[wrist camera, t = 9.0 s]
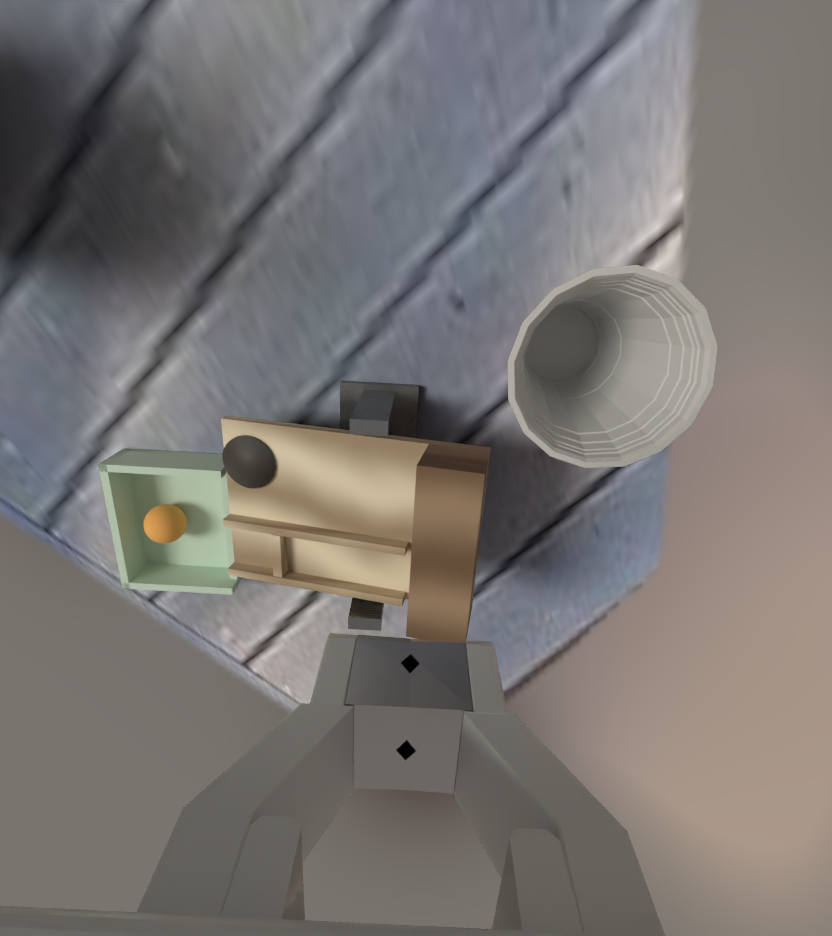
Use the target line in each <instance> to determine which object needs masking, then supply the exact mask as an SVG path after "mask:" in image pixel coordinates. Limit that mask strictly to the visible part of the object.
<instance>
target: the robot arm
mask: <svg viewBox="0 0 832 936" xmlns="http://www.w3.org/2000/svg"><path fill="white" fill-rule="evenodd" d="M353 789H400V790H403V789H404V790H414V791H427V792H439V793H453V794H454V797H455V799H456V800H457V802H458V804H459V806H460V808H461V809H462V811H463V813H464V814H465V816H466V818H467V820H468V821H469V823H470V825H471V826H472V828H473V830H474V832H475V833H476V835H477V837H478V838H479V840H480V842H481V844H482V845H483V847H484V849H485V850H486V852H487V854H488V856H489V857H490V859H491V860H492V862H493V864H494V866H495V868H496V869H497V871H498V873H499V874H500V876H501V878H502V880H501V885H500V891H499V895H498V900H497V905H496V911H495V916H494V921H493V927H492V929H478V928H456V927H435V926H413V925H393V924H372V923H350V922H330V921H309V920H305V910H304V886H303V861H304V860H305V858H306V857H307V856H308V854H309V853H310V851H311V850H312V849H313V847H314V846H315V844H316V843H317V842H318V840H319V839H320V837H321V836H322V835H323V833H324V832H325V830H326V829H327V828H328V826H329V825H330V823H331V822H332V821H333V819H334V817H335V816H336V815H337V813H338V812H339V811H340V809H341V808H342V806H343V805H344V804H345V802H346V801H347V799H348V798H349V797H350V795H351V794H352V792H353ZM0 936H665V934H664V931H663V929H662V926H661V923H660V920H659V918H658V915H657V912H656V909H655V907H654V904H653V901H652V898H651V895H650V893H649V890H648V887H647V884H646V882H645V879H644V876H643V873H642V871H641V868H640V865H639V862H638V860H637V857H636V854H635V851H634V848H633V846H632V843H631V840H630V838H629V835H628V832H627V830H626V829H625V828H624V827H623V826H622V825H621V824H620V823H619V822H618V821H617V820H616V819H615V818H614V817H613V816H612V815H611V814H610V813H609V812H608V811H607V809H606V808H605V807H604V806H603V805H602V804H601V803H600V802H599V801H598V800H597V799H596V798H595V797H594V796H593V795H592V794H591V793H590V792H589V791H588V790H587V788H586V787H585V786H583V784H582V783H581V782H580V781H579V780H578V779H577V778H576V777H575V776H574V775H573V774H572V773H571V772H570V771H569V770H568V769H567V767H566V766H565V765H563V763H562V762H561V761H560V760H559V759H558V758H557V757H556V756H555V755H554V754H553V753H552V752H551V751H550V750H549V749H548V748H547V747H546V745H544V743H543V742H542V741H541V740H540V739H539V738H538V737H537V736H536V735H535V734H534V733H533V732H532V731H531V730H530V729H529V728H528V727H527V726H526V724H525V723H524V722H523V721H522V720H521V719H520V718H519V717H518V716H517V715H516V714H507V709H506V704H505V699H504V694H503V689H502V683H501V678H500V673H499V668H498V663H497V658H496V652H495V647H494V645H493V643H492V642H489V641H464V642H463V641H447V640H425V639H407V638H394V637H381V636H368V635H358V636H357V635H348V634H335V633H330V635H329V636H328V638H327V640H326V644H325V648H324V652H323V656H322V660H321V663H320V667H319V671H318V675H317V679H316V683H315V687H314V690H313V694H312V698H311V702H310V704H305V703H301V704H300V705H299V706H298V707H297V708H296V709H295V710H293V711H292V712H291V713H290V714H289V715H288V716H287V717H285V718H284V719H283V720H282V721H281V722H280V723H279V724H278V725H276V726H275V727H274V728H273V729H272V730H271V731H270V732H269V733H267V734H266V735H265V736H264V737H263V738H262V739H261V740H259V741H258V742H257V743H256V744H255V745H254V746H253V747H252V748H250V749H249V750H248V751H247V752H246V753H245V754H244V755H243V756H241V757H240V758H239V759H238V760H237V761H236V762H235V763H233V764H232V765H231V766H230V767H229V768H228V769H227V770H226V771H224V772H223V773H222V774H221V775H220V776H219V777H218V778H217V779H215V780H214V781H213V782H212V783H211V784H210V785H209V786H207V787H206V788H205V789H204V790H203V791H202V792H201V793H200V794H199V795H197V796H196V797H195V798H194V799H193V800H192V801H190V802H189V803H188V804H187V805H186V806H185V807H184V808H183V810H182V812H181V814H180V816H179V818H178V821H177V823H176V825H175V827H174V830H173V832H172V834H171V836H170V839H169V841H168V843H167V845H166V848H165V850H164V852H163V855H162V856H161V859H160V861H159V863H158V865H157V868H156V870H155V872H154V874H153V877H152V879H151V881H150V883H149V886H148V888H147V890H146V892H145V894H144V897H143V899H142V901H141V903H140V906H139V908H138V910H137V912H120V911H101V910H80V909H59V908H38V907H18V906H0Z"/></svg>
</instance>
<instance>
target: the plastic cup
mask: <svg viewBox="0 0 832 936" xmlns="http://www.w3.org/2000/svg"><path fill="white" fill-rule="evenodd" d="M717 350H718V345H717V342H716V339H715V336H714V333H713V329H712V326H711V323H710V320H709V317H708V313H707V310H706V308H705V307H704V306H703V305H702V304H701V303H700V302H699V301H698V300H697V299H696V298H695V297H694V296H693V295H692V294H691V293H690V291H689V290H688V289H687V288H686V287H685V286H684V285H683V284H682V283H681V282H680V281H679V280H678V279H676V278H673V277H670V276H667V275H664V274H662V273H659V272H656V271H653V270H650V269H647V268H644V267H642V266H639V265H632V266H621V267H609V268H598V269H592V270H590V271H588V272H586V273H584V274H582V275H580V276H578V277H576V278H574V279H572V280H570V281H568V282H566V283H564V284H562V285H560V286H558V287H556V288H554V289H552V291H551V292H550V293H549V294H548V295H547V296H546V297H545V298H544V299H543V300H542V302H541V303H540V304H539V305H538V306H537V307H536V308H535V309H534V310H533V311H532V313H531V314H530V315H529V316H528V317H527V318H526V319H525V320H524V321H523V323H522V325H521V328H520V331H519V333H518V336H517V338H516V341H515V343H514V346H513V349H512V351H511V354H510V356H509V359H508V400H509V402H510V404H511V407H512V409H513V411H514V413H515V415H516V418H517V420H518V422H519V424H520V426H521V428H522V431H523V433H524V434H525V435H527V436H528V437H529V438H530V439H531V440H532V441H533V442H534V443H536V444H537V445H538V446H539V447H540V448H541V449H542V450H544V451H545V452H546V453H547V454H548V455H549V456H550V457H553V458H556V459H559V460H562V461H565V462H568V463H571V464H574V465H577V466H580V467H583V468H600V467H623V466H626V465H628V464H631V463H633V462H636V461H638V460H641V459H643V458H646V457H648V456H651V455H653V454H656V453H658V452H661V451H662V450H663V449H664V448H665V447H667V446H668V445H669V444H670V443H671V442H672V441H673V440H675V438H677V437H678V436H679V435H680V434H681V433H683V432H684V431H685V430H686V429H687V428H688V427H690V426H691V425H692V424H693V422H694V420H695V418H696V417H697V415H698V413H699V411H700V409H701V408H702V406H703V404H704V402H705V400H706V399H707V397H708V395H709V393H710V391H711V390H712V388H713V381H714V373H715V366H716V357H717Z"/></svg>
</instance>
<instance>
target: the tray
mask: <svg viewBox="0 0 832 936" xmlns="http://www.w3.org/2000/svg"><path fill="white" fill-rule="evenodd" d="M222 456H223V454H211V453H194V452H176V451H159V450H141V449H122V450H121V451H119V452H117V453H116V454H114V455H113V456H111V457H109V458H108V459H106V460H104V461H103V462H101V463H99V464H98V465H99V470H100V475H101V481H102V486H103V491H104V496H105V501H106V506H107V511H108V517H109V522H110V527H111V532H112V537H113V542H114V547H115V553H116V558H117V563H118V568H119V573H120V578H121V583H122V588H124V589H142V590H160V591H178V592H196V593H215V594H233V593H234V591H235V589H236V588H237V586H238V584H239V582H240V581H241V579H242V577H236V576H231V575H228V568H229V567H230V566H231V565H232V564H233V563H234V551H233V540H232V530H231V528H229V527H223V519H224V518H225V517H226V516H228V515H229V514H230V508H229V497H228V487H227V476H226V470H225V467H224V464H223V457H222ZM163 504H170V505H174V506H176V507H178V508H180V509H181V510H182V511H183V512H184V514H185V516H186V519H187V527H186V530H185V532H184V534H183V535H182V536H181V537H180V538H179V539H177V540H176V541H174V542H171V543H158V542H155V541H153V540H151V539H150V538H149V537H148V536H147V535H146V533H145V530H144V519H145V517H146V515H147V513H148V512H149V511H150V510H151V509H153V508H154V507H156V506H159V505H163Z"/></svg>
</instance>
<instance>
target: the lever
mask: <svg viewBox="0 0 832 936" xmlns="http://www.w3.org/2000/svg"><path fill="white" fill-rule="evenodd" d="M221 422H222V433H223V443H224V450H223V456H222V457H223V464H224V467H225V470H226V476H227V487H228V497H229V508H230V514H229V515H228V516H226V517H225V518H224V519H223V527H229V528H231V530H232V540H233V551H234V563H233V564H232V565H231V566H230V567H229V568H228V575H231V576H236V577H242V578H248V579H253V580H259V581H264V582H270V583H275V584H281V585H286V586H292V587H298V588H303V589H309V590H314V591H320V592H325V593H331V594H336V595H342V596H348V597H353V598H359V599H364V600H370V601H375V602H381V603H386V604H392V605H398V606H402V605H403V603H404V600H405V599H408V615H407V632H406V636H407V637H412V638H417V639H425V640H447V641H463V642H464V641H466V638H467V632H468V626H469V621H470V615H471V609H472V603H473V594H474V586H475V578H476V569H477V561H478V552H479V544H480V535H481V527H482V519H483V510H484V502H485V493H486V485H487V476H488V468H489V460H490V451H491V447H484V446H475V445H467V444H459V443H451V442H442V441H434V440H426V439H417V438H409V437H401V436H393V435H388V436H371V435H354V434H350V430H343V429H335V428H326V427H318V426H310V425H301V424H293V423H285V422H276V421H268V420H260V419H252V418H243V417H235V416H225V417H223V418H221Z"/></svg>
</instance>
